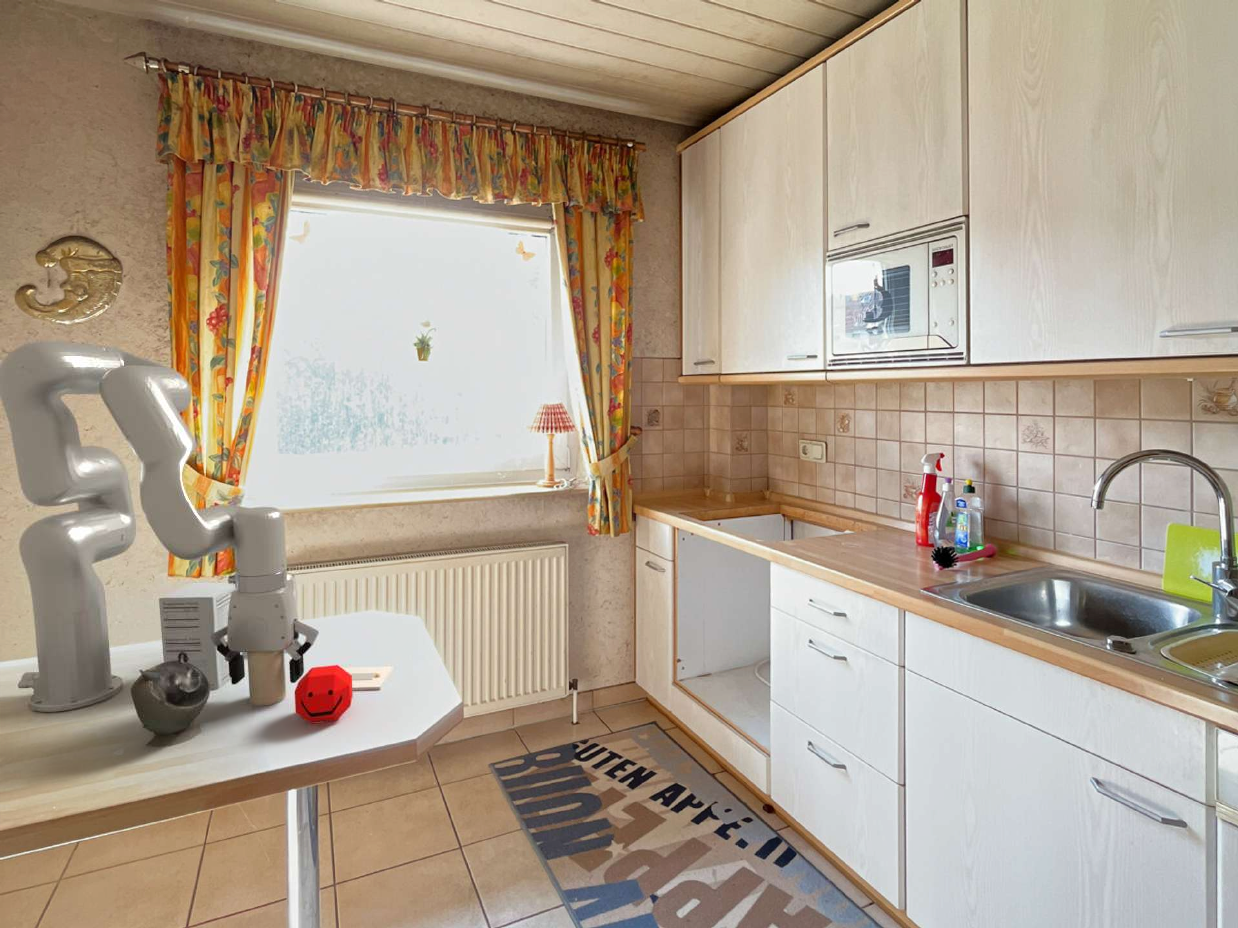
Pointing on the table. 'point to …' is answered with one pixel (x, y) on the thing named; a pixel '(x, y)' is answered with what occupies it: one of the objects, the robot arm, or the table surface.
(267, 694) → the candle
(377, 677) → the card
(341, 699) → the ball
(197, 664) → the supplement box
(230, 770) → the table surface
